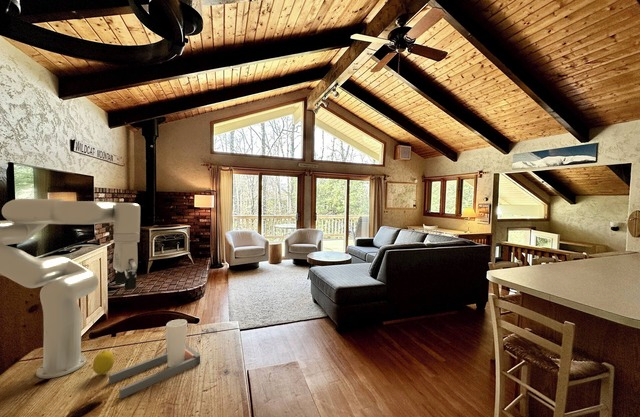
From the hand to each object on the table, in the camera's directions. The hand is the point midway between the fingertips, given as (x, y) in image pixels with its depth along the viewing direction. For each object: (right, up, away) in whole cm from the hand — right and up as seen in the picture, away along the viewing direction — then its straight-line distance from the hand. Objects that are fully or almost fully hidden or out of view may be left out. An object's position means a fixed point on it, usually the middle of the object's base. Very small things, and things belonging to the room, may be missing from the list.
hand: (125, 286), depth 96 cm
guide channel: (+13, -29, -3) cm, 32 cm away
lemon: (-4, -28, -5) cm, 29 cm away
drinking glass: (+17, -29, +2) cm, 33 cm away
